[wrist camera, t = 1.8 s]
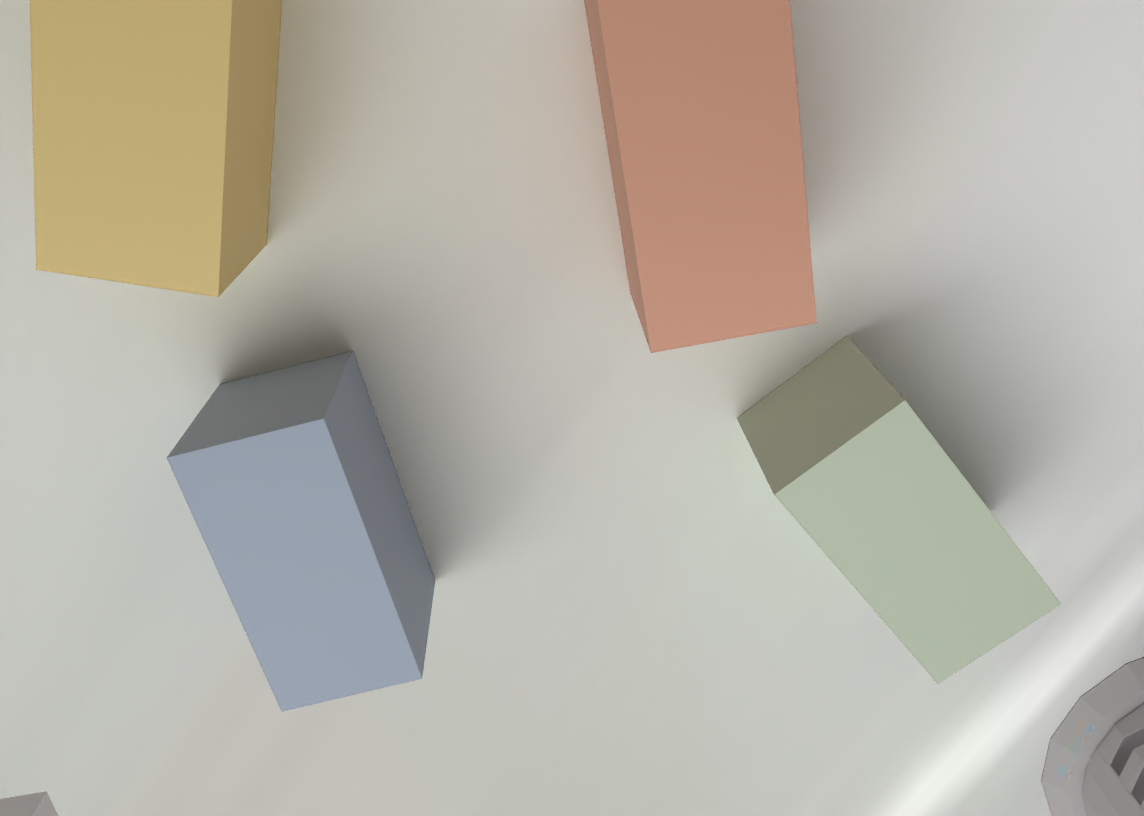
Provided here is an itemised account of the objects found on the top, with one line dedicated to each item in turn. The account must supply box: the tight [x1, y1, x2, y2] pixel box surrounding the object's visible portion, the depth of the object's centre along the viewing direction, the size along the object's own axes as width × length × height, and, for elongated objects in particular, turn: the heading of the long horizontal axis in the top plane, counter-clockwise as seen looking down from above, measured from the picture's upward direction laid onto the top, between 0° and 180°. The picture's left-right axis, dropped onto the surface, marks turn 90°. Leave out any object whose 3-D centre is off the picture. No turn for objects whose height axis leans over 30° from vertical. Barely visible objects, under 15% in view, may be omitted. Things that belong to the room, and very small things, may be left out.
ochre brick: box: [30, 0, 282, 297], centre depth 24 cm, size 8×4×5 cm, turn 170°
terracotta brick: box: [584, 0, 817, 353], centre depth 25 cm, size 8×4×5 cm, turn 10°
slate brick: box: [167, 351, 435, 712], centre depth 29 cm, size 8×4×5 cm, turn 14°
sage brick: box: [737, 336, 1061, 684], centre depth 29 cm, size 8×4×5 cm, turn 40°
